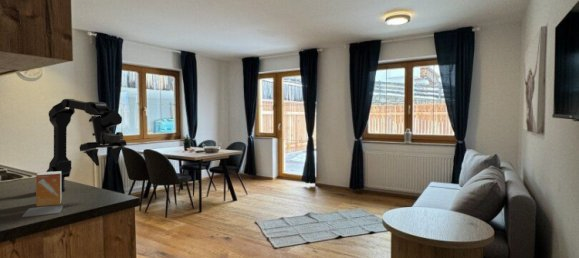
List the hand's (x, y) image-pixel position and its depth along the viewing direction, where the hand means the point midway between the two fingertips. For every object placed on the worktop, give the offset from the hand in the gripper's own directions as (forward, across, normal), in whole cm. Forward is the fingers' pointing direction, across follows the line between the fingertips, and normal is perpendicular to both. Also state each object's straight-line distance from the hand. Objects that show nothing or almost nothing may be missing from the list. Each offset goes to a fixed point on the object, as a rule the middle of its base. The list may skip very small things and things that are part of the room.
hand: (107, 164), depth 140 cm
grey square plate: (+14, -22, +10) cm, 28 cm away
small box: (+12, -15, +18) cm, 26 cm away
